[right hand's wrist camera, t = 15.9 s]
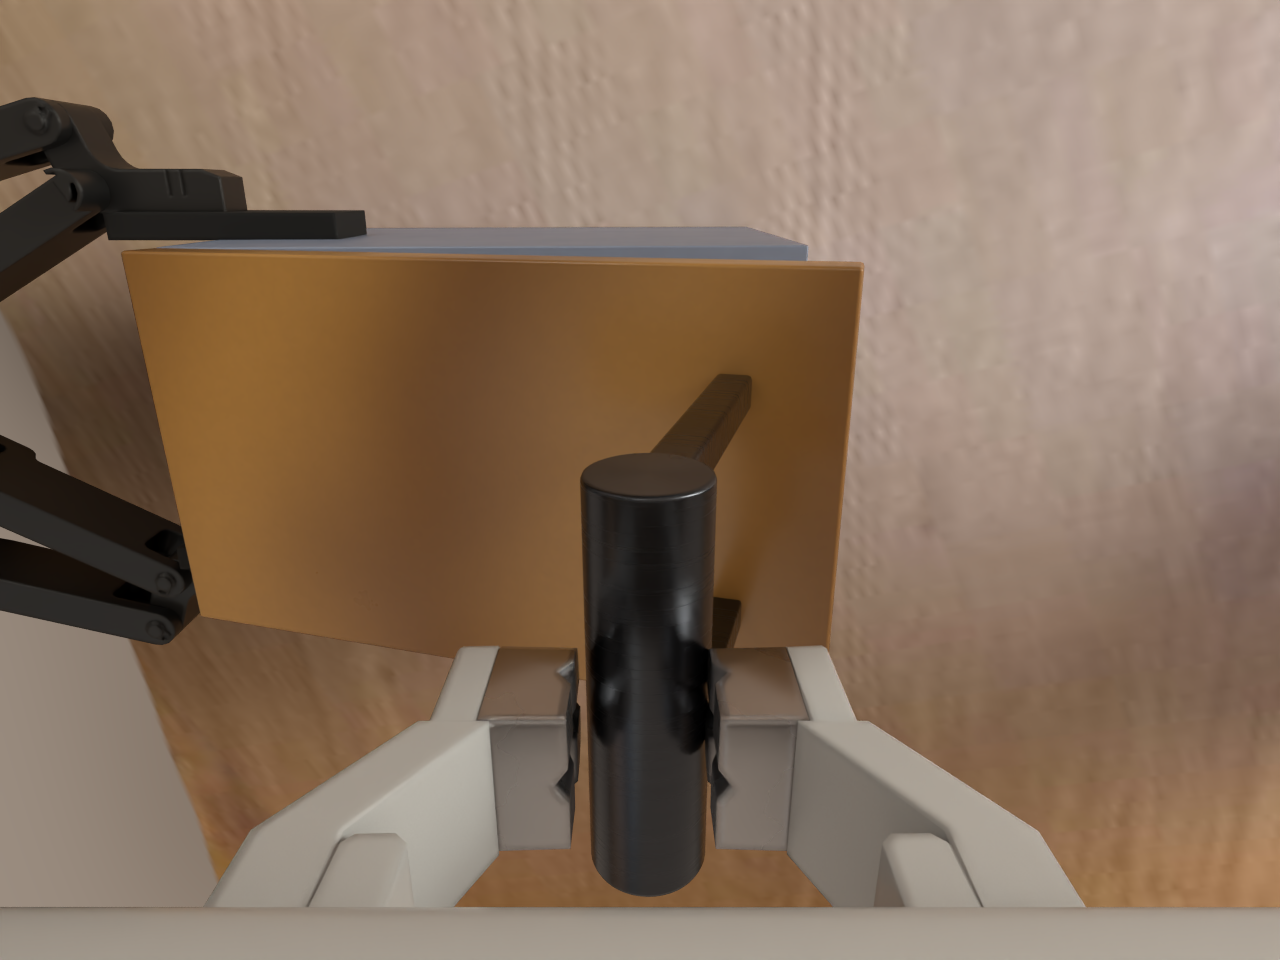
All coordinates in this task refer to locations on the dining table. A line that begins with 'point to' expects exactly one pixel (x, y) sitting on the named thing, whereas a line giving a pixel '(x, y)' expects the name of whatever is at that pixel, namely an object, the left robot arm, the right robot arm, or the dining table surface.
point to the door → (519, 474)
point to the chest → (549, 242)
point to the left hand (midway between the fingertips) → (371, 393)
